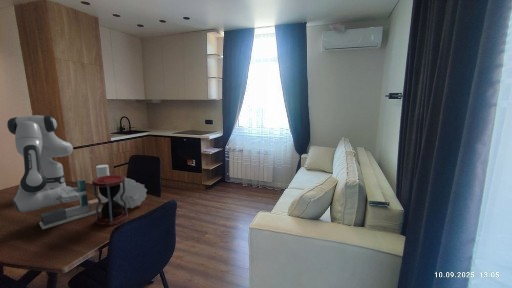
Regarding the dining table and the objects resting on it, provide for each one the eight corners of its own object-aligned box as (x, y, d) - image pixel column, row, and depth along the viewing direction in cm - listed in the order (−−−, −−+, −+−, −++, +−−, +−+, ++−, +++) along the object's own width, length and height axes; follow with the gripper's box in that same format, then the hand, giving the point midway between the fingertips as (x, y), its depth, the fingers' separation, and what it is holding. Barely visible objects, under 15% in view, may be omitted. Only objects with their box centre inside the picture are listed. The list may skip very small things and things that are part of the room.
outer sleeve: (44, 225, 129) (42, 216, 128) (42, 222, 132) (40, 213, 131) (66, 219, 137) (65, 210, 136) (64, 216, 140) (63, 207, 139)
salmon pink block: (91, 211, 146) (90, 203, 145) (88, 209, 149) (87, 201, 148) (102, 208, 150) (101, 200, 150) (99, 206, 154) (98, 198, 153)
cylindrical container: (105, 203, 161) (102, 167, 157) (96, 202, 163) (93, 167, 158) (113, 199, 168) (110, 165, 164) (105, 198, 169) (102, 164, 165)
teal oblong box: (61, 218, 136) (57, 185, 132) (60, 216, 138) (56, 184, 134) (94, 209, 148) (91, 179, 144) (92, 207, 150) (89, 177, 147)
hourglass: (98, 216, 143) (93, 176, 139) (128, 211, 151) (125, 173, 146) (94, 228, 129) (89, 185, 125) (127, 222, 137) (124, 181, 132)
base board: (42, 229, 128) (42, 227, 128) (39, 224, 133) (39, 222, 132) (104, 210, 151) (104, 208, 150) (100, 206, 156) (100, 205, 155)
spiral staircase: (126, 203, 172) (144, 211, 157) (100, 200, 158) (117, 208, 143) (134, 178, 176) (153, 184, 161) (110, 173, 162) (128, 179, 147)
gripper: (58, 196, 126) (89, 189, 137) (49, 187, 139) (78, 181, 150) (60, 207, 127) (90, 199, 138) (51, 197, 140) (79, 191, 151)
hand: (83, 190), depth 144 cm, fingers open, 8 cm apart
